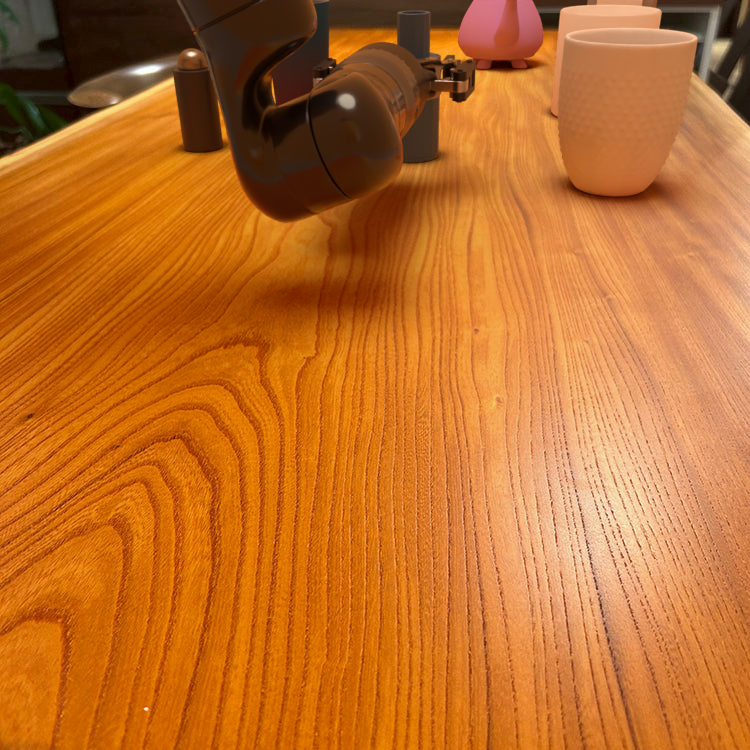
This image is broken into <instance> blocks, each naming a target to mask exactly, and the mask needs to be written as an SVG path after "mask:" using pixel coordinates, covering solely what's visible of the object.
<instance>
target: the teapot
mask: <svg viewBox="0 0 750 750" xmlns="http://www.w3.org/2000/svg"><path fill="white" fill-rule="evenodd" d="M457 43H458V44H457V45H458V47H459V48H460V50H461V51H462V53H463V54H464V55H465V56H466V57H468V58H471V60H472V61H475V62H476V69H479V70H487V69H491V68H492V63H493V61H506V62H509V63H511V68H513V69H526V68H528V65H527V63H526V61H525V59H528V58H532V57H534V56H535V55H536V54H537V52H538V51H539V50H540V49H541V47H542V46H543V44H544V28H543V23H542V19H541V16H540V13H539V11H538V9H537V7H536V4H535V2H534V0H472V1H471V4H470V5H469V7H468V9H467V11H466V12H465V14H464V16H463V18H462V21H461V23H460V26H459V30H458V36H457Z"/></svg>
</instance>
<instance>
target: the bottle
mask: <svg viewBox="0 0 750 750" xmlns="http://www.w3.org/2000/svg"><path fill="white" fill-rule="evenodd" d="M431 14H432V13H431V11H429V10H403V11H398V12H396V44H397V45H399V46H401V47H403V48H405V49H406V50H408V51H409V52H410V53H412V54H413V55H414V57H415V58H416V59H419V58H425V57H433V58H439V59H440V60H441V61H442V55H440V54H439V53H435V52H431ZM422 68H424V69H426V66H425V67H422ZM440 100H441V95H440V96H439V97H438V98H435V99H430V100H426V103H425V106H424V108H423V110H422V112H421V114H420V115H419V117H418V118H417V120H416V121H415V123H414V124H413V125H412V127H411V128H410V129H409V131H408V132H407V134H406V135H405V136H404V137H403V139H402V140H401V141H402V148H403V163H424V162H429V161H434V160H435V159H437V158H438V157H439V147H440V109H441V107H440V105H441V104H440V103H441V102H440Z"/></svg>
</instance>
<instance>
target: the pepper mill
mask: <svg viewBox="0 0 750 750" xmlns="http://www.w3.org/2000/svg"><path fill="white" fill-rule="evenodd" d="M176 63H177V64H176V65H177V67H174V68H173V69H172V77H173V84H174V90H175V97H176V104H177V105H176V106H177V112H178V119H179V125H180V132H181V139H182V147H183V150H185V151H186V152H190V153H207V152H208V153H209V152H213V151H217V150H220V149H223V147H224V141H223V133H222V125H221V116H220V105H219V102H218V98H217V94H216V91H215V87H214V84H213V81H212V78H211V74H210V71H209V68H208V65H207V62H206V59H205V56H204V54H203V51H202V50H199V49H197V48H193V47H191V48H186V49H184V50H182V51H181V52H180V54H179V55H178V57H177V62H176Z"/></svg>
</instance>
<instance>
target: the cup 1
mask: <svg viewBox="0 0 750 750" xmlns="http://www.w3.org/2000/svg"><path fill="white" fill-rule="evenodd" d="M312 1H313V4H314V7H315V10H316V14H317V28H316V31H315V33H314V35H313V36H312V37H311V39H310V40H309V41H308V42H307V43H306V44H304V45H303V46H302V47H301V48H300V49H299V50H297V51H296V52H295V53H293V54H292V55H291V56H289V57H288V58H287V59H285V60H284V61H283V62H282V63H281V64H279V65H278V66H277V67H276V68H275V69H274V71H273V75H272V89H273V94H274V95H273V96H274V101H275V103H276V105H277V106H280V105H282V104H284V103H287V102H289V101H291V100H293V99H296V98H298V97H300V96H302V95H305V94H307V93H309V92H311V90H312V89H313V88H314V86H313V68H314V67H315V66H317V65H318V64H319V63H320V62H322V61H323V60H324V59H327V58H330V0H312Z"/></svg>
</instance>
